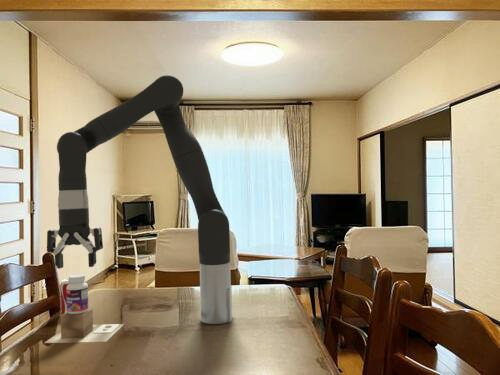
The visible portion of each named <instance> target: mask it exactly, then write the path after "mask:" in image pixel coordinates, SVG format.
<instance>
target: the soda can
mask: <svg viewBox="0 0 500 375" xmlns="http://www.w3.org/2000/svg"><path fill="white" fill-rule="evenodd" d="M69 284H70V282H69V278H68V279H63V280H61V281H60V285H59V293H60V294H59V298H60V299H59V300H60V303H59V304H60V316H61V315H62V314H64V313H66V312H67V292H66V288H67V285H69Z"/></svg>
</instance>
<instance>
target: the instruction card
mask: <svg viewBox="0 0 500 375" xmlns="http://www.w3.org/2000/svg"><path fill="white" fill-rule="evenodd" d="M120 324H121V323H113V324H112V323H110V324H108V323H107V324H101V325H102V326H100V327H99V328H98V329H97V330H96V331H94V332H93V333H112V332H113V331H114V330H115V329H116V328H117V327H118V326H119V325H120Z"/></svg>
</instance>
